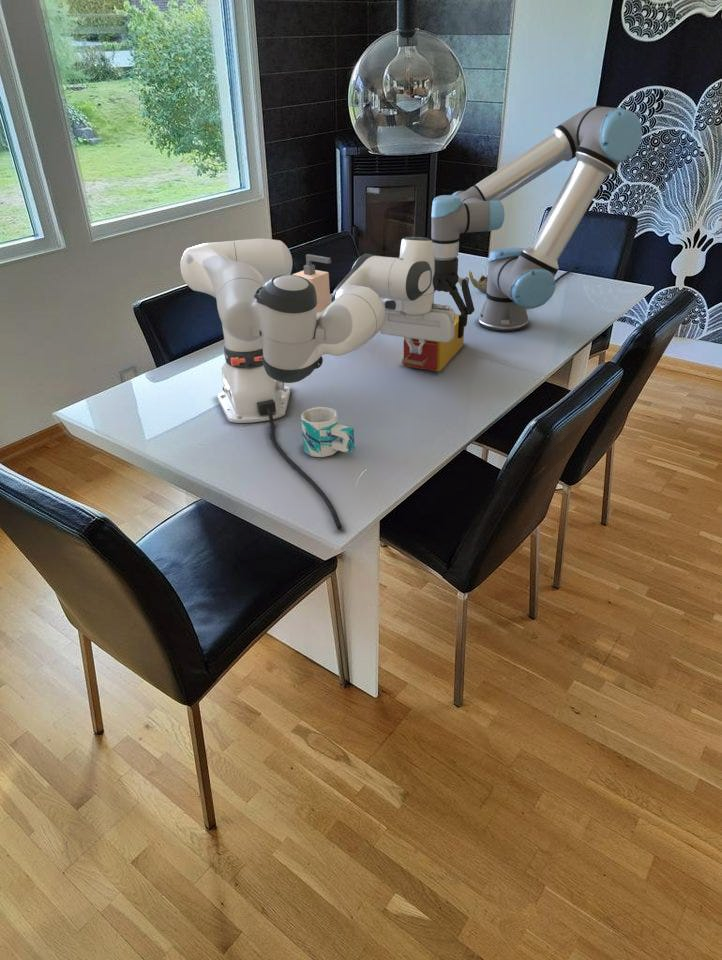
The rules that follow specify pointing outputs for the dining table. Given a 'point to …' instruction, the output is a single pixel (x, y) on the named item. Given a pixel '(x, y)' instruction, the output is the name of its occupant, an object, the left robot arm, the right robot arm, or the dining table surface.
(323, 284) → the soap dispenser
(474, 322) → the dining table surface
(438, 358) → the cabinet
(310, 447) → the mug
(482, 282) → the jawbone
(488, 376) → the dining table surface
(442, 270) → the right robot arm
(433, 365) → the drawer
